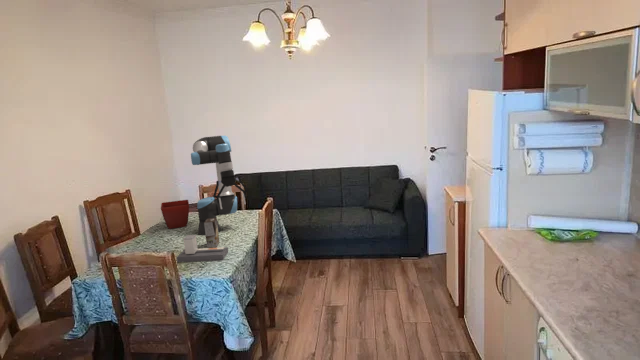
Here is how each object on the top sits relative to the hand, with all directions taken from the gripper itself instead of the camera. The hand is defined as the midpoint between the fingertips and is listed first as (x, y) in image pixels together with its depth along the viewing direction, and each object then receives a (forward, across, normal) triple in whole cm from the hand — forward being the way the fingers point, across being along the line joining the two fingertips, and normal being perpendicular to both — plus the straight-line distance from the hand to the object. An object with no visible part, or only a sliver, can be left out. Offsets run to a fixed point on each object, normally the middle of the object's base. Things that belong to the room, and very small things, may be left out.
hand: (233, 206), depth 244 cm
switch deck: (+25, -22, +2) cm, 33 cm away
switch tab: (+21, -28, +3) cm, 35 cm away
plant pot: (+8, -43, +76) cm, 88 cm away
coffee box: (+22, -17, +22) cm, 35 cm away
